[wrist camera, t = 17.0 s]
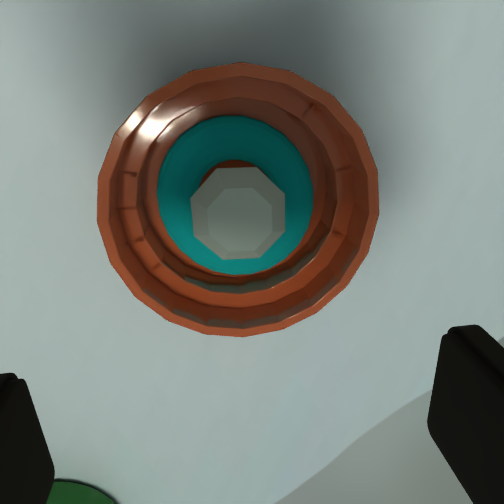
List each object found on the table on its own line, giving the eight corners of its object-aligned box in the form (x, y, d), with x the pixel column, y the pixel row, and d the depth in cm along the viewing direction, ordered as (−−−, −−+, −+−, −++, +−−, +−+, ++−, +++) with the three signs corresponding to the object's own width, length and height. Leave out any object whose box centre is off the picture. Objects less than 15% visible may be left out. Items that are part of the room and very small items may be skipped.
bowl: (174, 15, 23) (165, -2, 18) (390, 138, 27) (432, 152, 22) (84, 244, 28) (57, 281, 23) (281, 321, 32) (295, 367, 27)
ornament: (354, 261, 25) (204, 328, 26) (333, 236, 29) (204, 294, 30) (287, 86, 21) (111, 171, 22) (274, 84, 25) (125, 156, 26)
